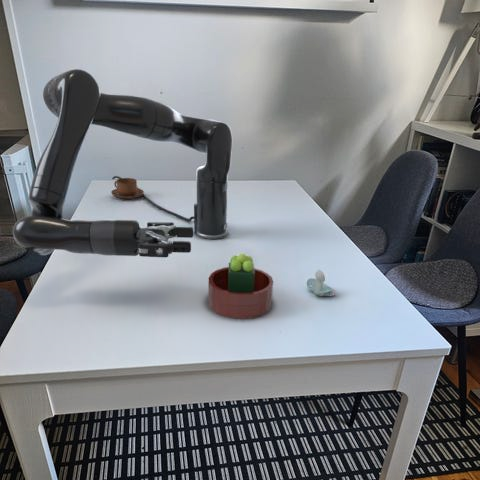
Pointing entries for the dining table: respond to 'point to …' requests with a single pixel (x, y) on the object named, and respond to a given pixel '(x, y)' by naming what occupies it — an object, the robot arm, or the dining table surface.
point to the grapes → (241, 274)
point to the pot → (240, 296)
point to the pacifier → (319, 285)
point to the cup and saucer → (126, 189)
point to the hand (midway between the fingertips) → (192, 239)
